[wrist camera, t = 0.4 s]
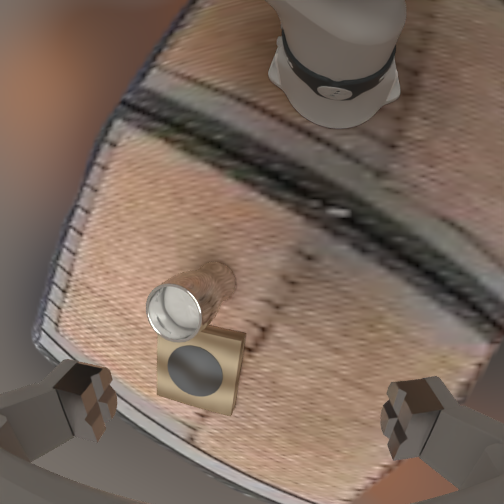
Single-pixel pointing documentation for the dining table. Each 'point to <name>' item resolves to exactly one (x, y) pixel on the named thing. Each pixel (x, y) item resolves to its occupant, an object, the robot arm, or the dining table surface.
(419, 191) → the dining table surface
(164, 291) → the beer glass
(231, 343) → the brass stand
